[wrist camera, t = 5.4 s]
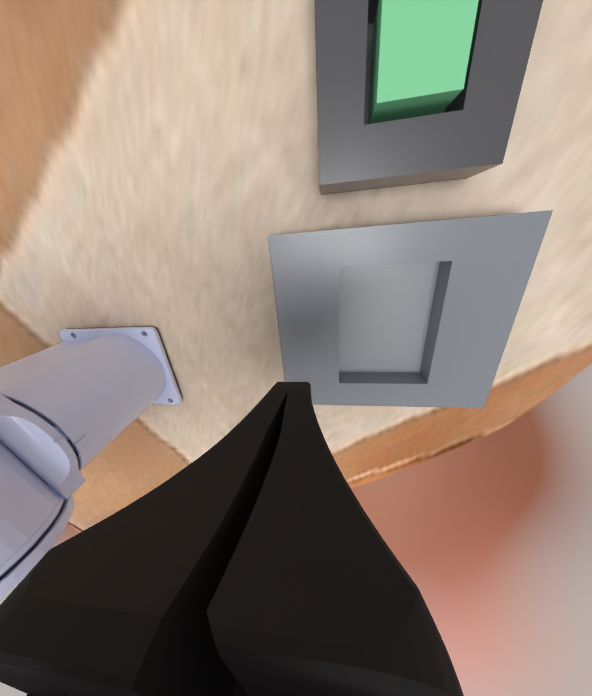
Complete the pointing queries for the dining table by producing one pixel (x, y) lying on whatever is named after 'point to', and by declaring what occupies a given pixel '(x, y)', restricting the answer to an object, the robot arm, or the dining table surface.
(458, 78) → the button
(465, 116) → the button housing
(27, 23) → the dining table surface
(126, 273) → the dining table surface
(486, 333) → the pocket plate
